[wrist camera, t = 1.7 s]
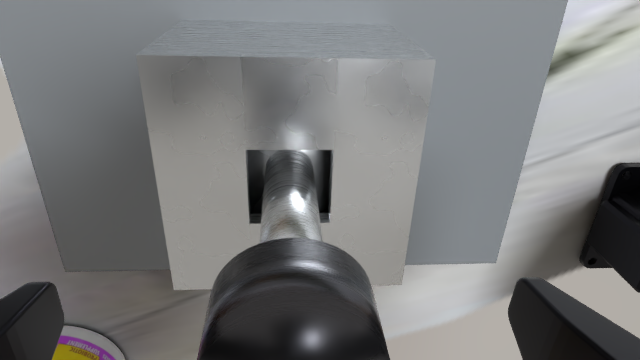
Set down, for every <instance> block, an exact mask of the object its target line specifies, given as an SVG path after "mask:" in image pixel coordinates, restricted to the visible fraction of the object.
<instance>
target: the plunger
mask: <svg viewBox="0 0 640 360" xmlns="http://www.w3.org/2000/svg"><path fill="white" fill-rule="evenodd" d="M247 151H248V171H249V191H250V212H251V214H262V216H261V228H260V240H259V244H257V245H255V246H252V247H250V248H248V249H246V250H244V251H243V252H241V253H239V254H238V255H236V256H235V257H234V258H232V259H231V260H230V261H229V262H228V263H227V264H226V265H225V266H224V267H223V269H222V270H221V271H220V273H219V274H218V276H217V278H216V280H215V281H214V284H213V287H212V291H211V295H210V300H209V305H208V310H207V314H206V319H205V324H204V329H203V334H202V338H201V343H200V348H199V353H198V358H197V360H390V358H389V354H388V350H387V346H386V342H385V338H384V334H383V330H382V326H381V322H380V318H379V314H378V310H377V306H376V302H375V298H374V294H373V291H372V287H371V283H370V280H369V278H368V276H367V274H366V272H365V270H364V269H363V268H362V266H361V265H360V264H359V263H358V262H357V261H356V260H355V259H354V258H353V257H352V256H351V255H349V254H348V253H347V252H345V251H343V250H342V249H340V248H338V247H336V246H334V245H331V244H329V243H326V242H323V239H322V231H321V223H320V216H319V213H328V209H329V188H330V167H331V150H247Z"/></svg>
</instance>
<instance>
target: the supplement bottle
mask: <svg viewBox="0 0 640 360" xmlns="http://www.w3.org/2000/svg"><path fill="white" fill-rule="evenodd" d="M52 360H125V358H124V356H123V354H122V352H121V351H120V350H119V348H118V347H117V346H116V345H115V344H114V343H113V342H111V341H110V340H109V339H107V338H105V337H104V336H102V335H100V334H98V333H96V332H93V331H90V330H87V329H84V328H80V327H74V326H63V330H62V332H61V335H60V338H59V341H58V344H57V347H56V349H55V352H54V355H53V358H52Z"/></svg>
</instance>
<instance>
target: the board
mask: <svg viewBox="0 0 640 360" xmlns="http://www.w3.org/2000/svg"><path fill="white" fill-rule="evenodd" d="M567 2H568V0H0V58H1V61H2V64H3V67H4V71H5V74H6V77H7V81H8V84H9V87H10V90H11V94H12V97H13V100H14V104H15V107H16V110H17V113H18V117H19V120H20V123H21V127H22V130H23V133H24V137H25V140H26V143H27V147H28V150H29V153H30V157H31V160H32V163H33V166H34V170H35V173H36V176H37V180H38V183H39V186H40V190H41V193H42V196H43V199H44V203H45V206H46V209H47V213H48V216H49V219H50V223H51V226H52V229H53V232H54V236H55V239H56V242H57V246H58V249H59V252H60V256H61V259H62V262H63V265H64V269H65V272H81V271H130V270H170V264H169V257H168V251H167V245H166V239H165V233H164V226H163V220H162V214H161V208H160V201H159V195H158V189H157V183H156V177H155V170H154V164H153V158H152V152H151V145H150V139H149V133H148V127H147V121H146V114H145V108H144V102H143V96H142V89H141V83H140V77H139V71H138V65H137V58H136V55H137V54H138V53H139V52H141V51H142V50H143V49H145V48H146V47H147V46H148V45H150V44H151V43H152V42H154V41H155V40H156V39H158V38H159V37H160V36H162V35H163V34H164V33H165V32H167V31H168V30H169V29H171V28H172V27H173V26H175V25H176V24H177V23H179V22H180V21H181V20H224V21H269V22H314V23H359V24H391V25H392V26H393V27H394V28H396V29H397V30H398V31H400V32H401V33H402V34H403V35H405V36H406V37H407V38H409V39H410V40H411V41H412V42H414V43H415V44H416V45H418V46H419V47H420V48H421V49H423V50H424V51H425V52H427V53H428V54H429V55H430V56H432V57H433V58H434V59H436V64H435V70H434V77H433V83H432V90H431V96H430V103H429V109H428V116H427V122H426V129H425V135H424V142H423V148H422V155H421V161H420V168H419V174H418V181H417V187H416V194H415V200H414V207H413V213H412V220H411V227H410V233H409V240H408V246H407V253H406V259H405V265H426V264H475V263H496V260H497V257H498V253H499V249H500V246H501V242H502V238H503V235H504V231H505V228H506V224H507V220H508V217H509V213H510V209H511V206H512V202H513V198H514V195H515V191H516V188H517V184H518V180H519V177H520V173H521V169H522V166H523V162H524V158H525V155H526V151H527V147H528V144H529V140H530V137H531V133H532V129H533V126H534V122H535V118H536V115H537V111H538V107H539V104H540V100H541V97H542V93H543V89H544V86H545V82H546V78H547V75H548V71H549V67H550V64H551V60H552V56H553V53H554V49H555V46H556V42H557V38H558V35H559V31H560V27H561V24H562V20H563V16H564V13H565V9H566V5H567Z"/></svg>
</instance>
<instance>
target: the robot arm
mask: <svg viewBox="0 0 640 360" xmlns="http://www.w3.org/2000/svg"><path fill="white" fill-rule="evenodd" d="M625 172H626V173H625ZM624 173H625V175H623V174H624ZM622 175H623V176H622ZM589 259H590V260H589ZM580 262H581V263H582V264H583V265H584V266H585V267H586V268H614V269H615V270H616V271H617V272H618V273H619V274H620V275H621V276H622V277H623V278H624V279H625V280H626V281H627V282H628V283H629V284H630V285H631V286H632V287H633V288H634V289H635V290H636V291H637V292H640V163H625V164H620V165H619V166H617V167H616V168H615V169H614V171H613V172H612V175H611V177H610V180H609V183H608V185H607V188H606V190H605V193H604V196H603V198H602V201H601V204H600V206H599V209H598V211H597V214H596V217H595V219H594V222H593V224H592V227H591V230H590V232H589V235H588V237H587V240H586V243H585V245H584V248H583V250H582V253H581V256H580ZM508 317H509V321H510V324H511V327H512V330H513V333H514V335H515V338H516V341H517V344H518V347H519V349H520V353H521V356H522V358H523V360H640V339H639V338H638V337H636V336H634V335H633V334H631V333H630V332H628V331H626V330H625V329H623V328H621V327H620V326H618V325H617V324H615V323H613V322H612V321H610V320H608V319H607V318H605V317H604V316H602V315H600V314H599V313H597V312H595V311H594V310H592V309H591V308H589V307H587V306H586V305H584V304H582V303H581V302H579V301H577V300H576V299H574V298H573V297H571V296H569V295H568V294H566V293H564V292H563V291H561V290H560V289H558V288H556V287H555V286H553V285H552V284H550V283H548V282H547V281H545V280H543V279H541V278H521V279H519V280H518V281H517V283H516V286H515V289H514V292H513V295H512V298H511V302H510V305H509V308H508ZM63 326H64V312H63V309H62V306H61V302H60V299H59V296H58V292H57V289H56V287H55V285H54V284H53V283H50V282H31V283H27V284H25V285H23V286H22V287H20V288H18V289H17V290H15V291H13V292H12V293H10V294H8V295H7V296H5V297H4V298H2V299H0V360H52V358H53V355H54V352H55V349H56V347H57V344H58V341H59V338H60V335H61V332H62V330H63Z"/></svg>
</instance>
